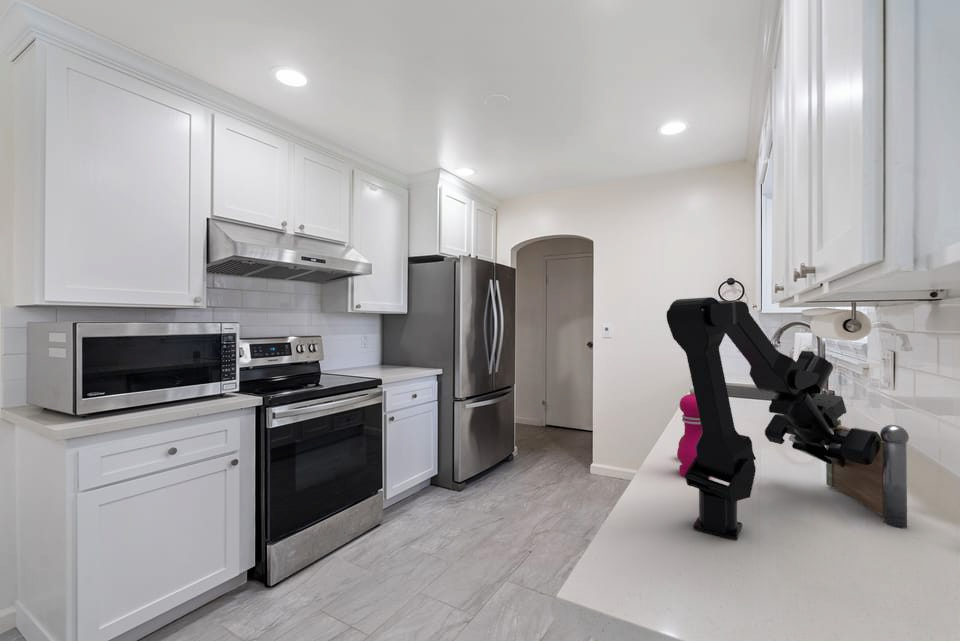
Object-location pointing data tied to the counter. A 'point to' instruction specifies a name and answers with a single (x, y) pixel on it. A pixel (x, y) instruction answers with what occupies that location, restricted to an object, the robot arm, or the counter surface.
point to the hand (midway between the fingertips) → (837, 463)
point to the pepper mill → (689, 432)
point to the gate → (859, 479)
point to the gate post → (894, 475)
